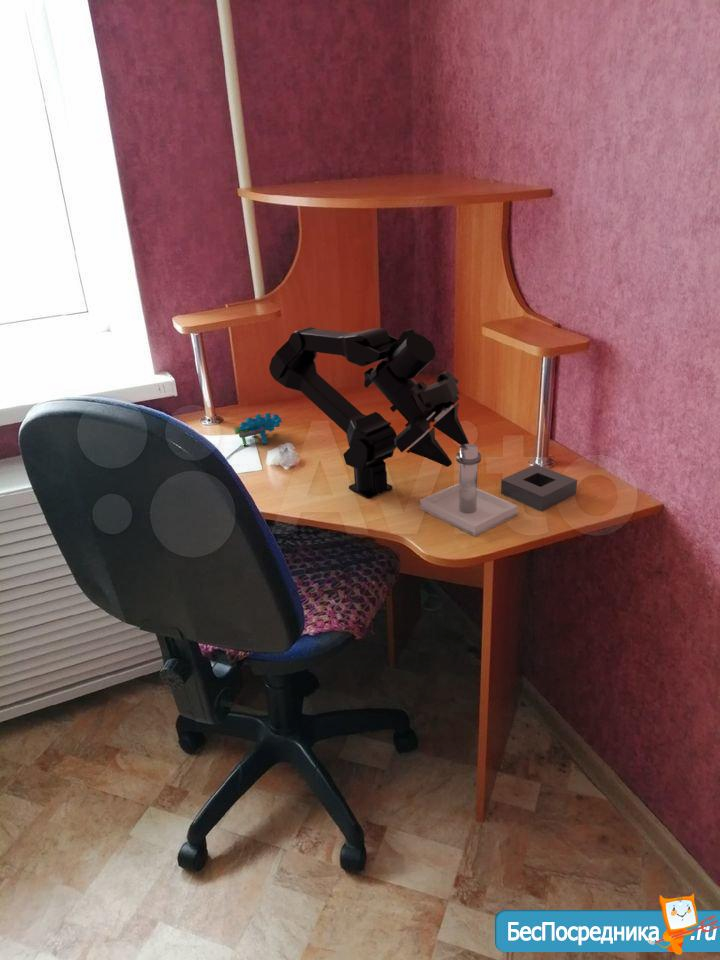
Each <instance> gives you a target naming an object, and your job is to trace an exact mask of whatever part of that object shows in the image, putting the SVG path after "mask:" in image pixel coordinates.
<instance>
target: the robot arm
mask: <svg viewBox="0 0 720 960" xmlns="http://www.w3.org/2000/svg"><path fill="white" fill-rule="evenodd" d="M317 353H321V354H328V355H336V356H341V357H343V358H345V359H346V360H347V362H349V363H351V364H354V365H357V366H358V367H366V366H369V365H372V364H375V363H378V362H379V363H378V364H377V365H376V366H375V367H374V368H372V367H369V369H367V370H366V371H365V372H363V376H364V382H363V383H364V384H363V385H364V387H365V388H369V387H370V386H371V385H374V386H375V387H376V388H377V389H378V390H379V391H380V392H381V393H382V394H383V395H384V397H385V398H386V399H387V400H388V401H389V402H390V403H391V406H390V407H389V409H390V410H391V412H393V413H394V412H396V411H397V412H399V414H400V415H401V416H402V417H403V418H404V419H405V421H407V423H406V424H405V425H404V426H405V428H404V429H403V430H401V431H400V432H399V433H397V432H396V430H395V428H394V427H392V422H391V421H390V422H389V421H387V419H385V418H384V417H383V416H382V415H381V414H380V412H377V411H375V412H372V413H369V414H367V415H366V414H364V413H362V412H361V411H360V410H359V409H358V408H357V407H356V406H354V405H353V404H352V403H351V402H350V401H349V400H348V399H347V398H345V397H344V395H342V394H341V393H340V392H339V391H338V390H336V388H335V387H333V386H332V385H331V384H330V383H329V382H328V381H326V379H324V378H323V377H322V376H320V375H319V373H318V371H317V370H318V369H317V366H316V365H317V363H316V361H315V359H316V358H317V356H318V355H317ZM435 356H436V349H435V347H434V344H433V343H432V341H431V340H429V339H427V338H426V337H425V336H424V335H421V334H418V333H416V332H415V330H414V329H413V328H409V329H406V330H404V331H403V332H402V333H401V334H400V335H399V337H395V336H393V335H391V334H389V333H388V331H387V330H386V329H384V328H382V327H378V328H370V329H365V330H360V331H356V332H355V331H354V332H351V331H350V332H349V331H340V330H331V329H330V330H327V329H321V328H316V327H313V326H309V327H306V328H302V329H297V330H295V331H294V332H291V334H290V336H289V338H288V339H287V341H286V342H284V344H283V345H281V347H280V348H279V349H277V351H276V352H275V353H274V355H273V356H272V358H271V359H270V363H269V365H268V366H269V368H268V369H269V373H270V375H271V377H272V378H273V380H275V381H276V382H277V383H278V384H280V385H281V386H283V387H285V388H286V389H291V390H294V391H298V392H300V393H302V394H303V395H304V396H305V397H306V398H308V399H309V400H310V401H311V402H312V404H314V405H315V406H316V408H318V409H319V410H321V412H322V413H324V414H325V415H326V416H327V417H328V418H329V419H330V420H331V421H333V423H334V424H336V425H337V426H338V427H339V428H340V429H341V430H342V431H343V432H344V433H345V434H346V439H347V444H348V447H349V448H348V449H347V450H346V451H345V452H344V453H343V458H344V462H345V465H347V466H349V467H351V468H353V475H354V483H353V484H350V485H348V489H349V490H351V491H353V492H354V493H357V494H358V495H361V496H362V497H364V498H366V499H372V498H374V497H376V496H378V495H381V494H384V493H386V492H389V491H390V490H393V487H394V486H393V485H391V484H389V483H388V472H387V467H386V466H387V464H386V462H385V460H387V459H389V458H392V457H393V455H394V453H395V450H396V448H397V449H398V450H399V451H400V452H401V453H403V452H405V450H406V453H408V454H409V453H411V454H414V455H418V456H419V457H423V458H426V459H428V460H430V461H433V462H435V463H437V464H440V465H442V466H444V467H447V468H448V467H450V466H451V465H452V464H453V462H452V460H451V458H450V457H449V455H448V454H447V453H446V451H445V450H444V449H443V447H442V446H441V445H440V443H439V442H438V440H436V434H435V431H436V430H435V429H437V430H438V431H439V432H441V433H442V434H443V435H445V436H447V437H448V438H450V439H451V440H453V441H454V442H456V443H457V444H459V445H460V446H461V445H463V444H470V442H469V440H468V437H467V436H466V433H465V431H464V429H463V427H462V424H461V421H460V420H459V417H458V411H459V406H460V402H458V401H459V400H460V397H459V396H458V395H459V394H461V393H460V390H459V388H458V386H457V384H458V383H459V379H457V378H455V375H452V374H451V373H450V372H449V371H448V370H446V371H444V372H441V373H439V374H438V375H437V380H436V381H435V382H433V383H431V384H429V385H427V384H426V383H425V382H424V381H421V380H420V381H418V382H416V381H415V380H414V379H413V378H415V377H416V376H417V375H418V374H420V373H421V372H422V370H424V368H426V367H427V366H428V365H429V364H430V363H431V362H432V361H433V360H434V359H435V358H436V357H435ZM380 361H381V362H380ZM431 423H434V424H433V425H432V426H433V427H432V428H431ZM430 428H431V429H430ZM429 429H430V430H429Z"/></svg>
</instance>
